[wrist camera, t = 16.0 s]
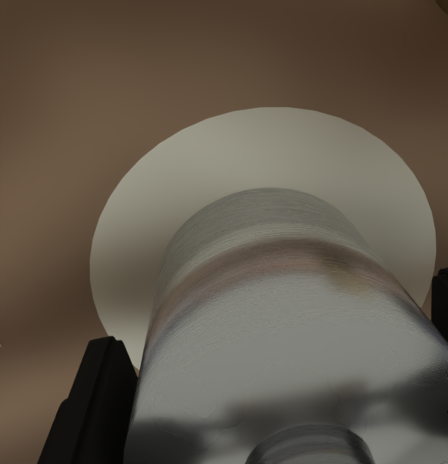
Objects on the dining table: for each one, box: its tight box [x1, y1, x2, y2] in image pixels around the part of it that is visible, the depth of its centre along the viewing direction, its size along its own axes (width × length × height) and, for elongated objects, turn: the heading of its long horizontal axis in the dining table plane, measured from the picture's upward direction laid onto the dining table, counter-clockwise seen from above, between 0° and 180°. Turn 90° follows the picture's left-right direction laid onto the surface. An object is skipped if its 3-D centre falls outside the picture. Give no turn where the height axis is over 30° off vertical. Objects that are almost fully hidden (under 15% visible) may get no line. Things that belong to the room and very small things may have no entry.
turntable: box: [0, 0, 448, 464], centre depth 10 cm, size 26×26×8 cm
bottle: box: [123, 188, 448, 464], centre depth 10 cm, size 7×7×7 cm
